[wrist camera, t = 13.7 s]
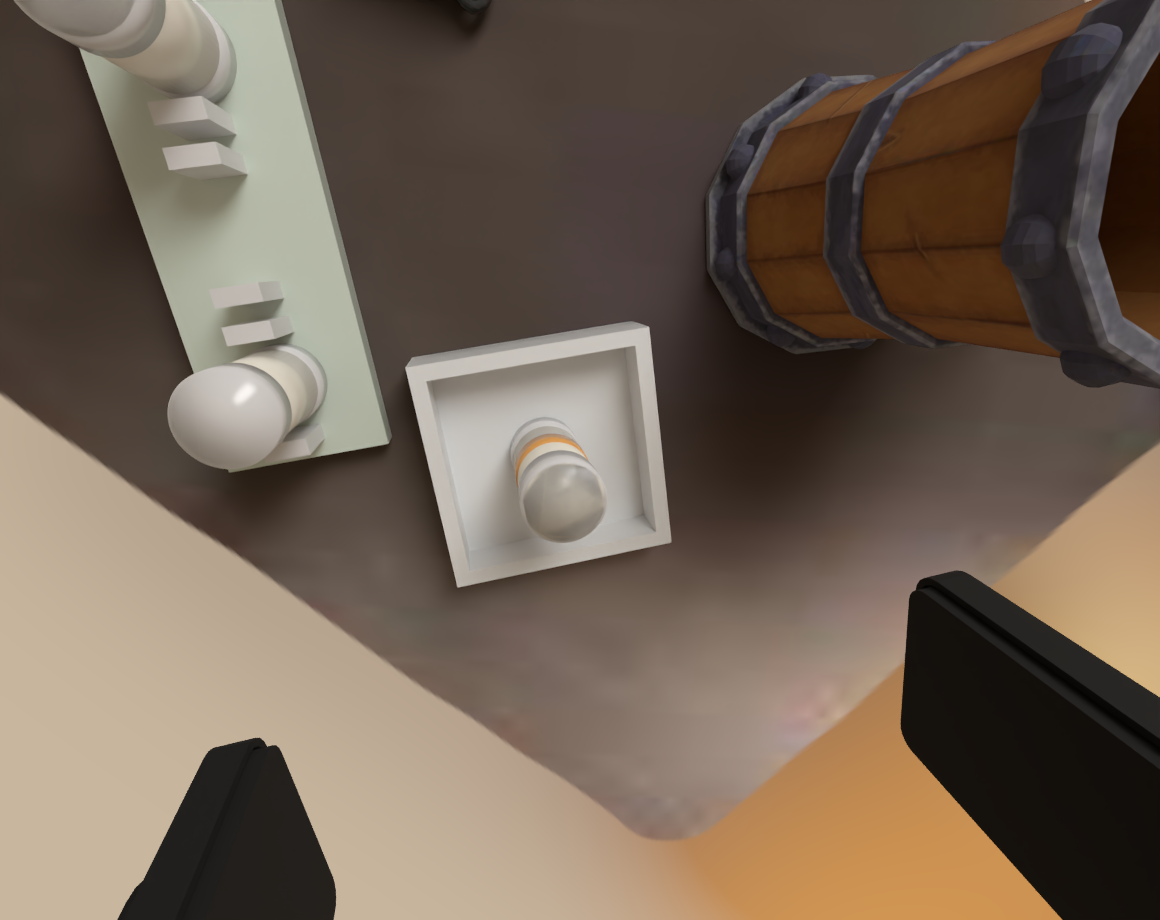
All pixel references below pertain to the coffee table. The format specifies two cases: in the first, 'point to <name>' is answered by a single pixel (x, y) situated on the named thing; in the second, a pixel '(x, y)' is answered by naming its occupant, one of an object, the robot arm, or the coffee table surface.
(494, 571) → the tray
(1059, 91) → the mug
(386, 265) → the coffee table surface
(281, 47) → the board
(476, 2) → the red flat piece
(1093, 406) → the coffee table surface
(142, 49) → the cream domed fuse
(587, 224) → the coffee table surface
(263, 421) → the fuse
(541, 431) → the marked fuse
